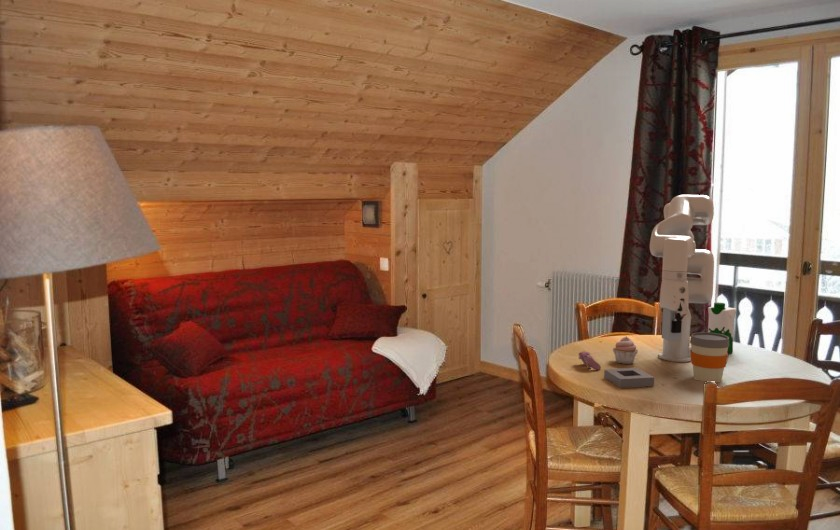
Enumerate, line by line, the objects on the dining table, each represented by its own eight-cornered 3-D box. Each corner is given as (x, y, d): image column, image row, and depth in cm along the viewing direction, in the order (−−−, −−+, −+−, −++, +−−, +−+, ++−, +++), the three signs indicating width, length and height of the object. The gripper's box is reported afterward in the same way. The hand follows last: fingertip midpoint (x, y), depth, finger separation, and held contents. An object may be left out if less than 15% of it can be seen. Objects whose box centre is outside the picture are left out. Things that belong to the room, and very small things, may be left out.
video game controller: (582, 367, 256) (574, 351, 255) (593, 362, 256) (585, 345, 255) (591, 375, 246) (583, 358, 245) (602, 369, 246) (594, 352, 245)
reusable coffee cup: (708, 385, 228) (710, 341, 226) (680, 375, 240) (682, 333, 238) (735, 381, 233) (738, 338, 231) (706, 372, 245) (709, 331, 243)
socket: (636, 376, 239) (636, 367, 239) (653, 386, 227) (654, 377, 227) (604, 377, 237) (604, 369, 237) (620, 387, 225) (620, 379, 225)
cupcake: (624, 366, 251) (625, 340, 250) (606, 360, 260) (607, 335, 258) (643, 363, 256) (644, 337, 254) (625, 357, 264) (626, 332, 263)
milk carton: (703, 351, 275) (705, 302, 272) (716, 348, 280) (719, 300, 277) (723, 355, 267) (726, 305, 265) (736, 352, 272) (739, 303, 270)
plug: (673, 337, 227) (675, 307, 226) (681, 340, 223) (682, 310, 221) (661, 337, 226) (662, 308, 225) (669, 340, 222) (670, 310, 220)
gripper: (700, 279, 214) (697, 336, 216) (670, 272, 231) (667, 325, 233) (678, 279, 213) (676, 337, 215) (649, 272, 229) (647, 326, 231)
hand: (671, 330), depth 224 cm, fingers closed on plug, 4 cm apart
